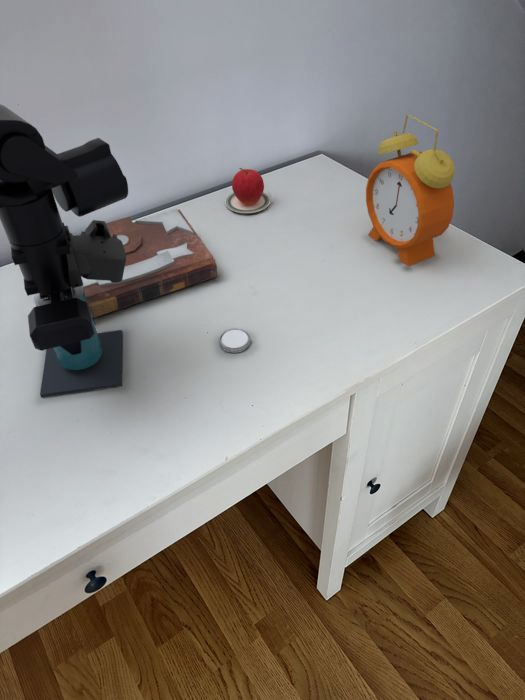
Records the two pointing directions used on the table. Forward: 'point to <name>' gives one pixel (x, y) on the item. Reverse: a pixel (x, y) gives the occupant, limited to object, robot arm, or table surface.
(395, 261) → the table surface
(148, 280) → the book
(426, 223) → the alarm clock
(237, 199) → the apple
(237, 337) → the bottle cap
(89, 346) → the can
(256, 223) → the table surface
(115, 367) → the mat
